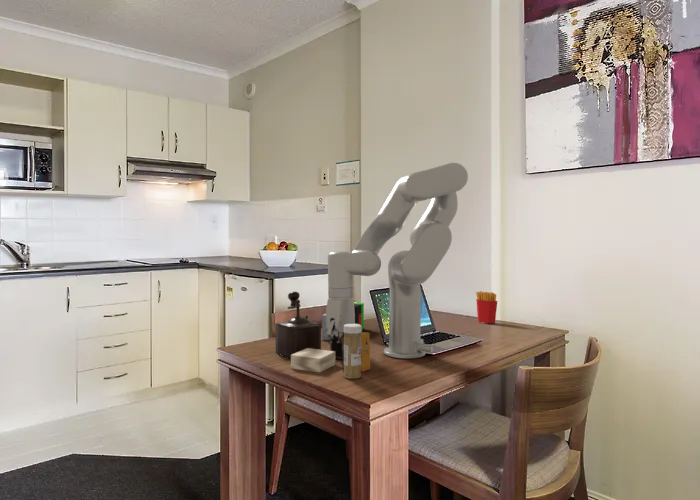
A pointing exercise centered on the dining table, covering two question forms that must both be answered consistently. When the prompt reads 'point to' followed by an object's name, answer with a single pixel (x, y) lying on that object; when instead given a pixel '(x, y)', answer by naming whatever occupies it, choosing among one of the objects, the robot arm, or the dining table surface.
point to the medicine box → (324, 332)
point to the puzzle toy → (359, 313)
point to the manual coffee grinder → (297, 331)
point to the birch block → (313, 360)
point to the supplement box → (365, 351)
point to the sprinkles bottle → (352, 351)
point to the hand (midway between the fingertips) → (341, 353)
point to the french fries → (486, 307)
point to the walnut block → (342, 346)
